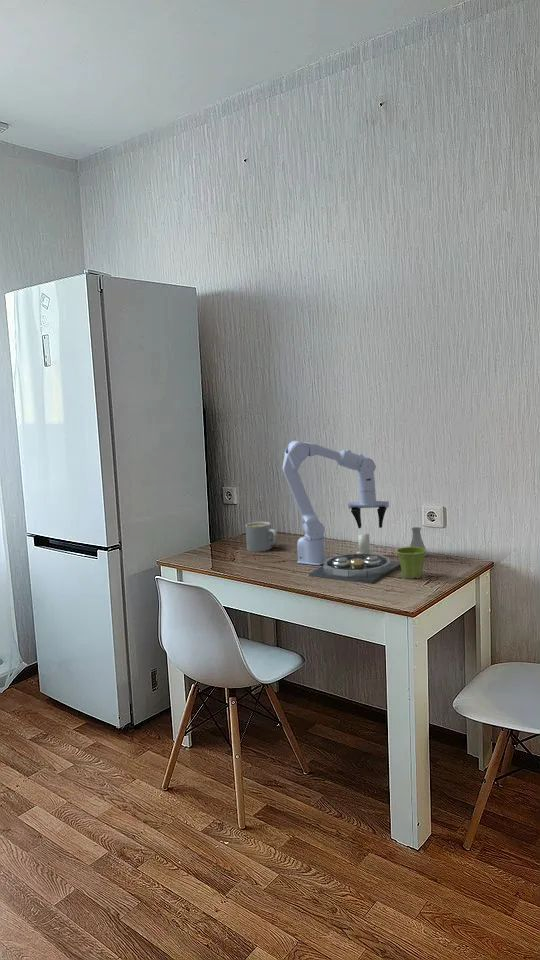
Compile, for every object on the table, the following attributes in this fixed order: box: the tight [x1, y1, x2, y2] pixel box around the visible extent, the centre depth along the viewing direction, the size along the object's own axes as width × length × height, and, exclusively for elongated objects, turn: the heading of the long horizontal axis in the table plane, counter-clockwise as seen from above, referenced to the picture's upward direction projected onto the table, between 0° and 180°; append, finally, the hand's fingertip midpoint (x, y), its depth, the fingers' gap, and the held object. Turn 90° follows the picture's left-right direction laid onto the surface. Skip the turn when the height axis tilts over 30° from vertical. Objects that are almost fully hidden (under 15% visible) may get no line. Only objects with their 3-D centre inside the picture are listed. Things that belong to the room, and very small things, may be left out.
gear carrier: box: [308, 553, 401, 584], centre depth 232 cm, size 24×24×4 cm
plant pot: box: [396, 546, 427, 580], centre depth 220 cm, size 9×9×9 cm
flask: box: [409, 526, 429, 557], centre depth 245 cm, size 7×7×10 cm
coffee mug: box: [244, 521, 279, 553], centre depth 270 cm, size 13×10×10 cm
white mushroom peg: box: [356, 533, 374, 554], centre depth 249 cm, size 6×6×8 cm
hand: (370, 527), depth 248 cm, fingers open, 7 cm apart
